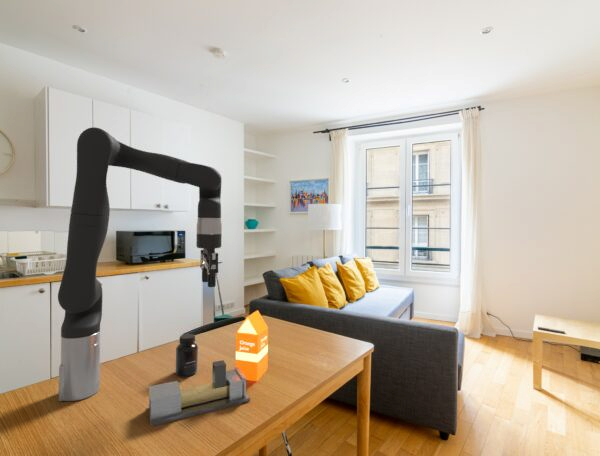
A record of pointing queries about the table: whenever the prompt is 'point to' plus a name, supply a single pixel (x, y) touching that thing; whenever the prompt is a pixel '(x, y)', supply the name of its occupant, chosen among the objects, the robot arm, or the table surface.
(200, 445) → the table surface
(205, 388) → the block
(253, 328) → the orange juice
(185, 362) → the supplement bottle
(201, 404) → the rail
